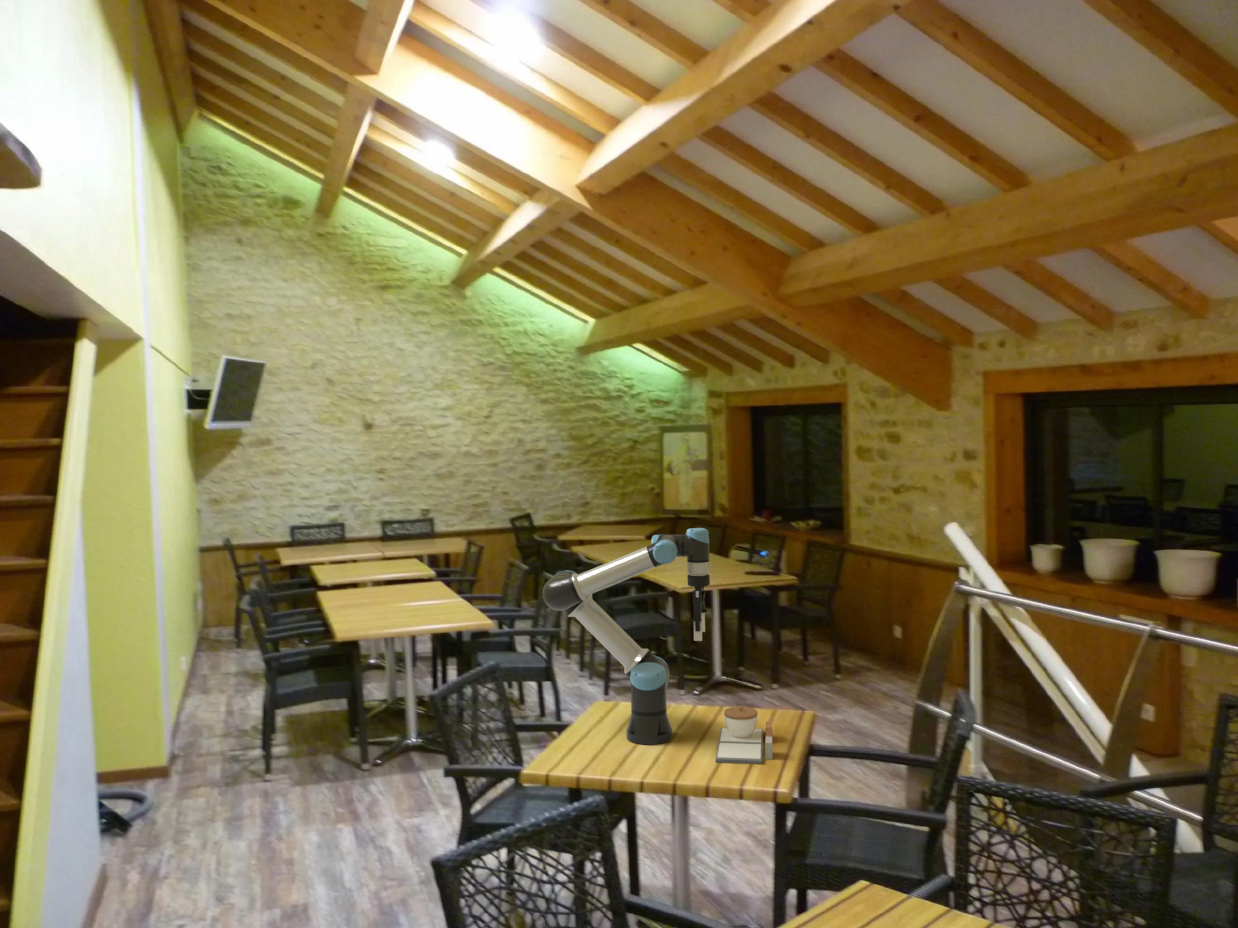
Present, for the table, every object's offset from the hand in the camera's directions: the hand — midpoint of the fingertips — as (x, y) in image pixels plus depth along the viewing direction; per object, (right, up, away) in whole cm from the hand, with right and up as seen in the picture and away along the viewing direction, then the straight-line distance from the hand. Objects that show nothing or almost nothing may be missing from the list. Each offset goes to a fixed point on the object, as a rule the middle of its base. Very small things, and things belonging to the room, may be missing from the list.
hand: (699, 636), depth 323 cm
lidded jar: (+12, -30, -13) cm, 35 cm away
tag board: (+13, -31, -21) cm, 40 cm away
